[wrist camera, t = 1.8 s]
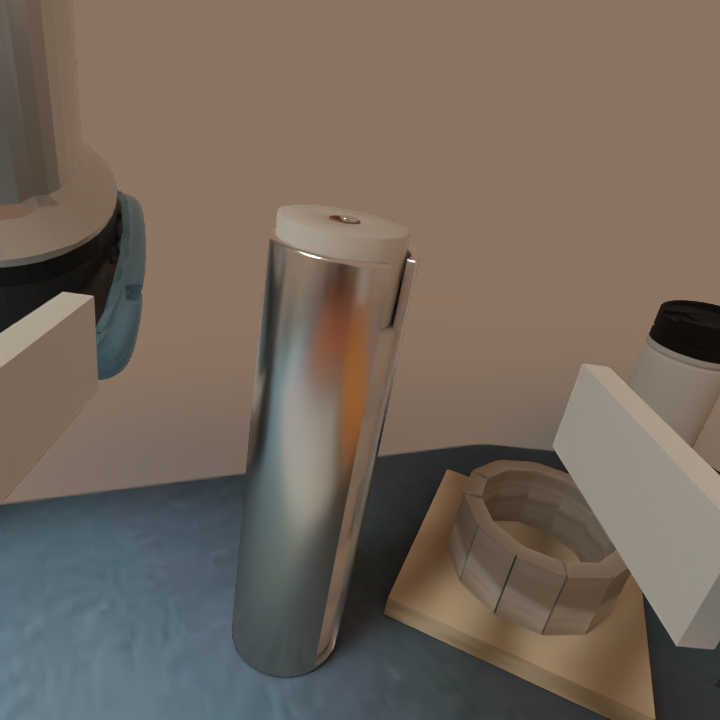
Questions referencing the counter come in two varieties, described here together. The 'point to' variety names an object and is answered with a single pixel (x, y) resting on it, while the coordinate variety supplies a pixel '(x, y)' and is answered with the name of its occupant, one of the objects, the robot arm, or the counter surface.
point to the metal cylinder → (316, 425)
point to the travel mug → (681, 366)
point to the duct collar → (529, 587)
